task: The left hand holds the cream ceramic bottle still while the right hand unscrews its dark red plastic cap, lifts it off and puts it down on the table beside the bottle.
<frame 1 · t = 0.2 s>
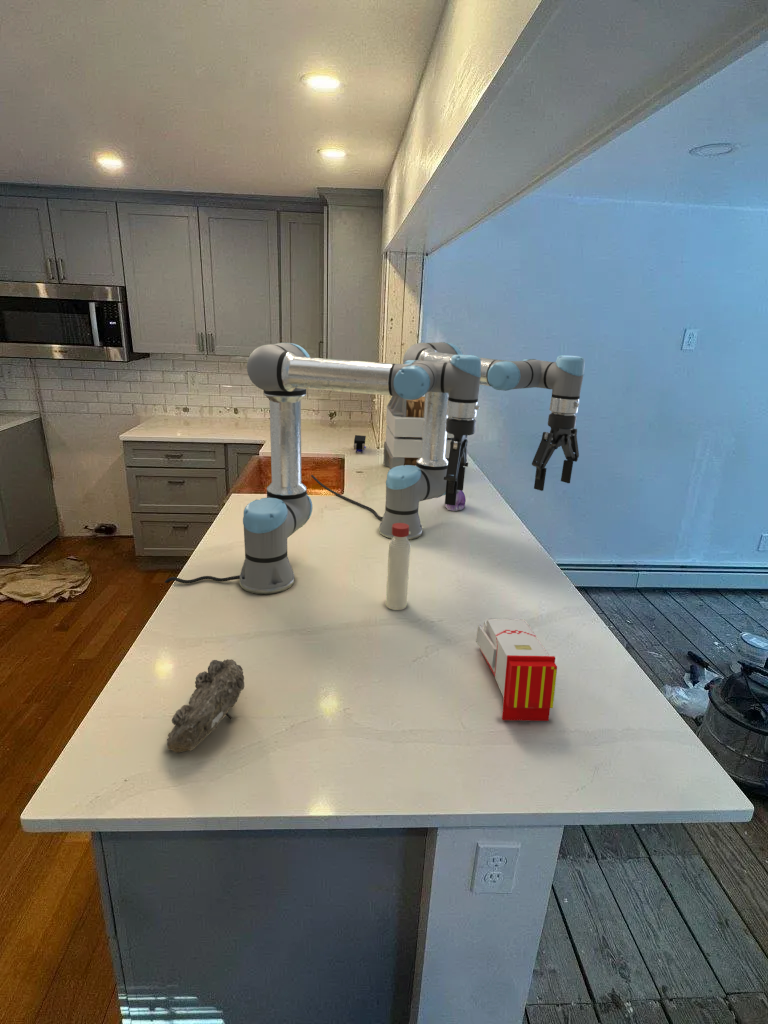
left hand: (454, 496, 152), 28 cm above the counter, tool pointing down, fingers open, 13 cm apart
right hand: (552, 485, 166), 28 cm above the counter, tool pointing down, fingers open, 13 cm apart
toy: (508, 678, 123), on the counter
fossil: (212, 717, 108), on the counter
figurine: (454, 508, 229), on the counter
bottle: (396, 604, 152), on the counter
figurine character: (359, 451, 312), on the counter
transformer: (419, 473, 275), on the counter
cap: (400, 526, 144), point 22 cm above the counter, screwed on, not yet turned
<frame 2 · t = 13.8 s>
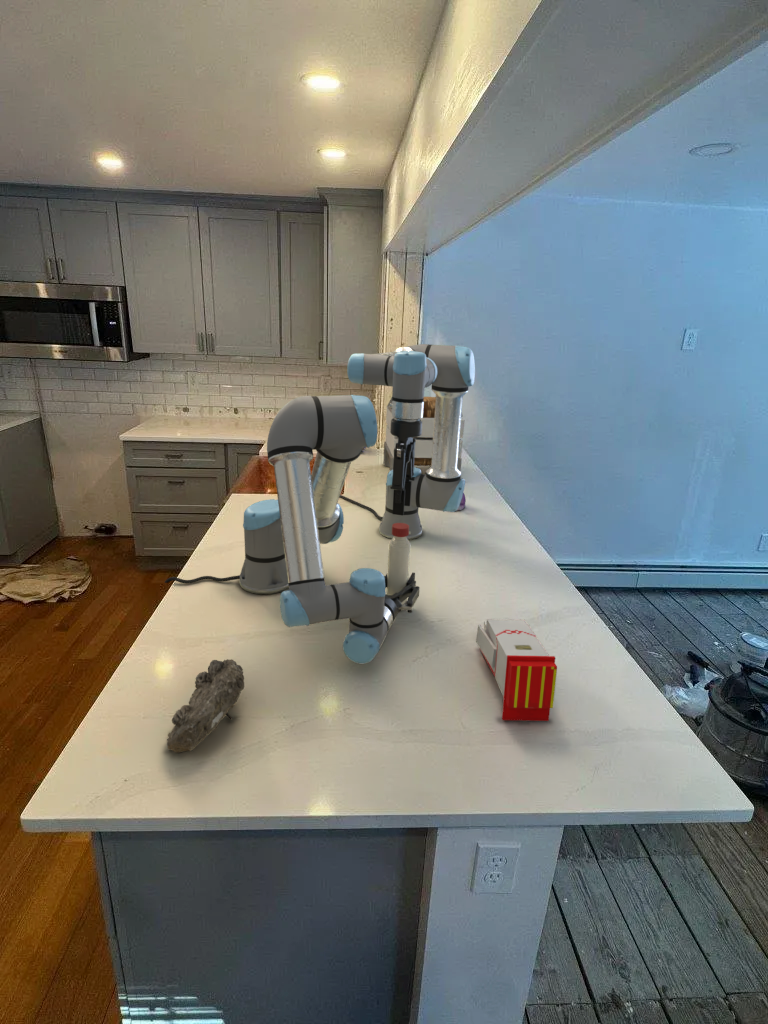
left hand: (402, 575, 155), 6 cm above the counter, tool horizontal, fingers closed on bottle, 6 cm apart
right hand: (401, 509, 143), 27 cm above the counter, tool pointing down, fingers open, 7 cm apart
bottle: (396, 604, 152), on the counter, touching left hand
everything else where it was.
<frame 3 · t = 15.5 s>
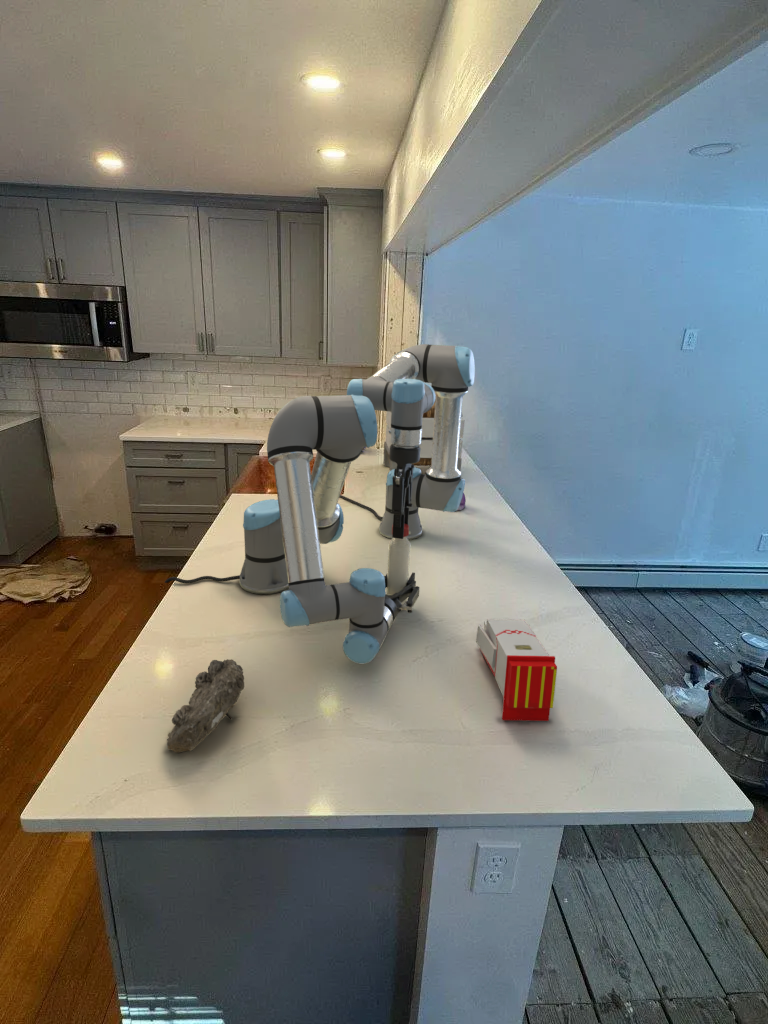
left hand: (402, 575, 155), 6 cm above the counter, tool horizontal, fingers closed on bottle, 6 cm apart
right hand: (400, 534, 145), 21 cm above the counter, tool pointing down, fingers closed on cap, 4 cm apart
bottle: (396, 604, 152), on the counter, touching left hand
cap: (400, 526, 144), point 22 cm above the counter, screwed on, not yet turned, touching right hand
everything else where it was.
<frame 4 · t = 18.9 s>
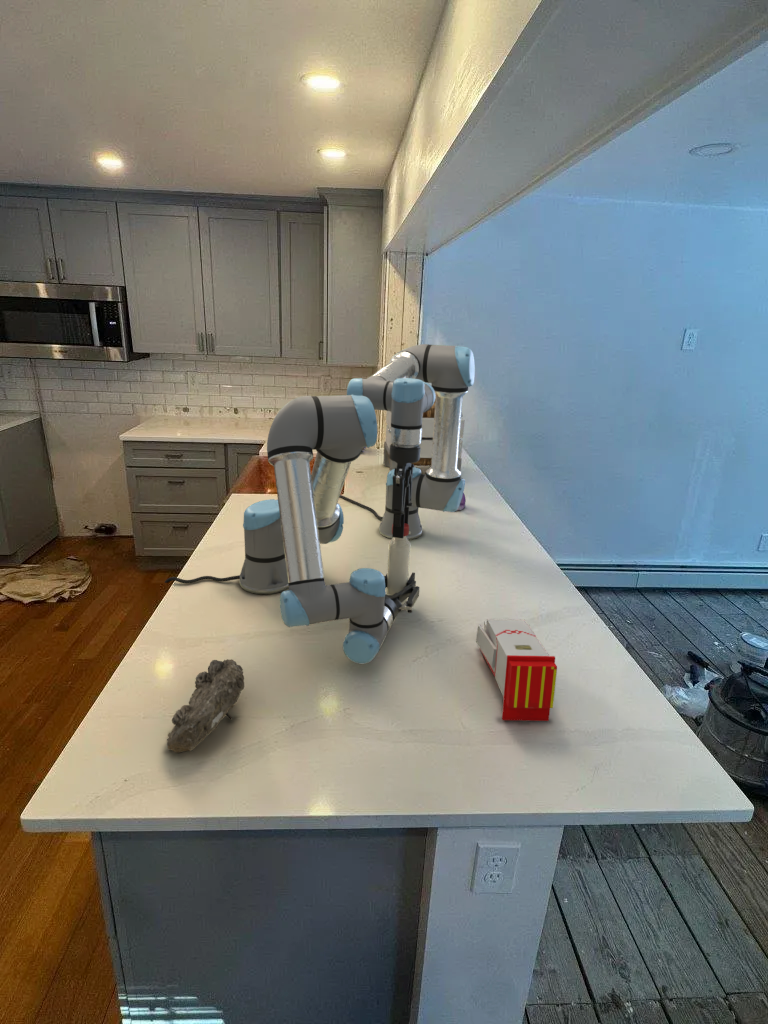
left hand: (402, 575, 155), 6 cm above the counter, tool horizontal, fingers closed on bottle, 6 cm apart
right hand: (400, 533, 145), 21 cm above the counter, tool pointing down, fingers closed on cap, 4 cm apart
bottle: (396, 604, 152), on the counter, touching left hand
cap: (400, 526, 144), point 23 cm above the counter, turned 131° so far, risen 0.1 cm, still on its thread, touching right hand
everything else where it was.
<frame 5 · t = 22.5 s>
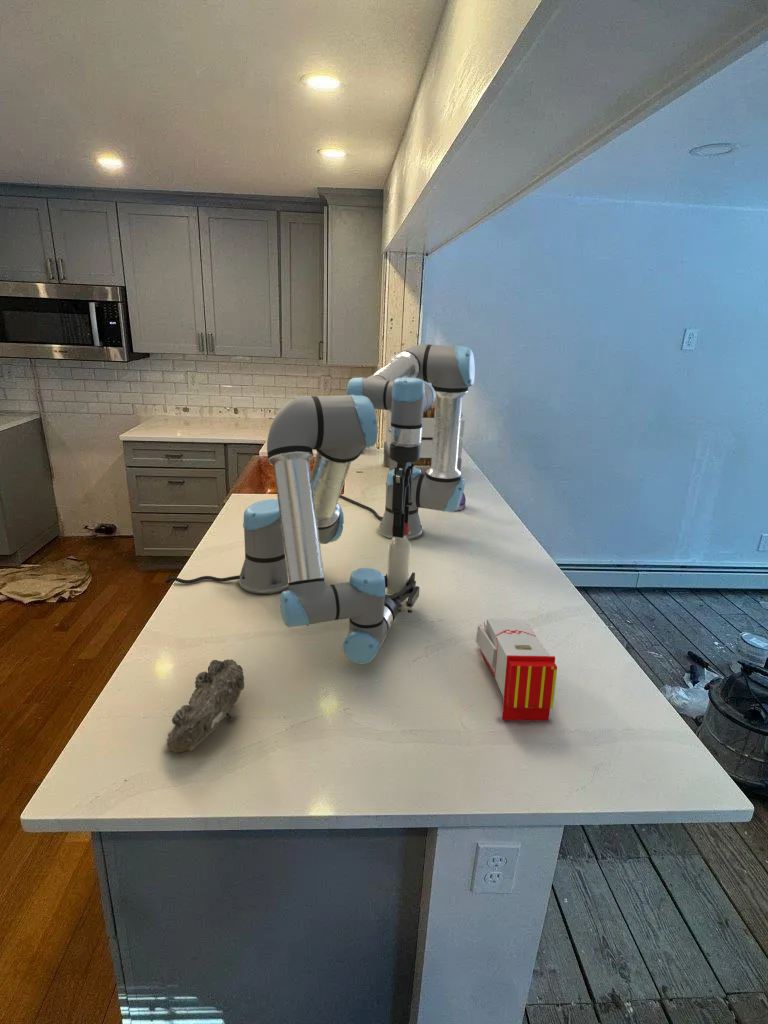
left hand: (402, 575, 155), 6 cm above the counter, tool horizontal, fingers closed on bottle, 6 cm apart
right hand: (400, 533, 145), 21 cm above the counter, tool pointing down, fingers closed on cap, 4 cm apart
bottle: (396, 604, 152), on the counter, touching left hand
cap: (400, 525, 144), point 23 cm above the counter, turned 263° so far, risen 0.3 cm, still on its thread, touching right hand
everything else where it was.
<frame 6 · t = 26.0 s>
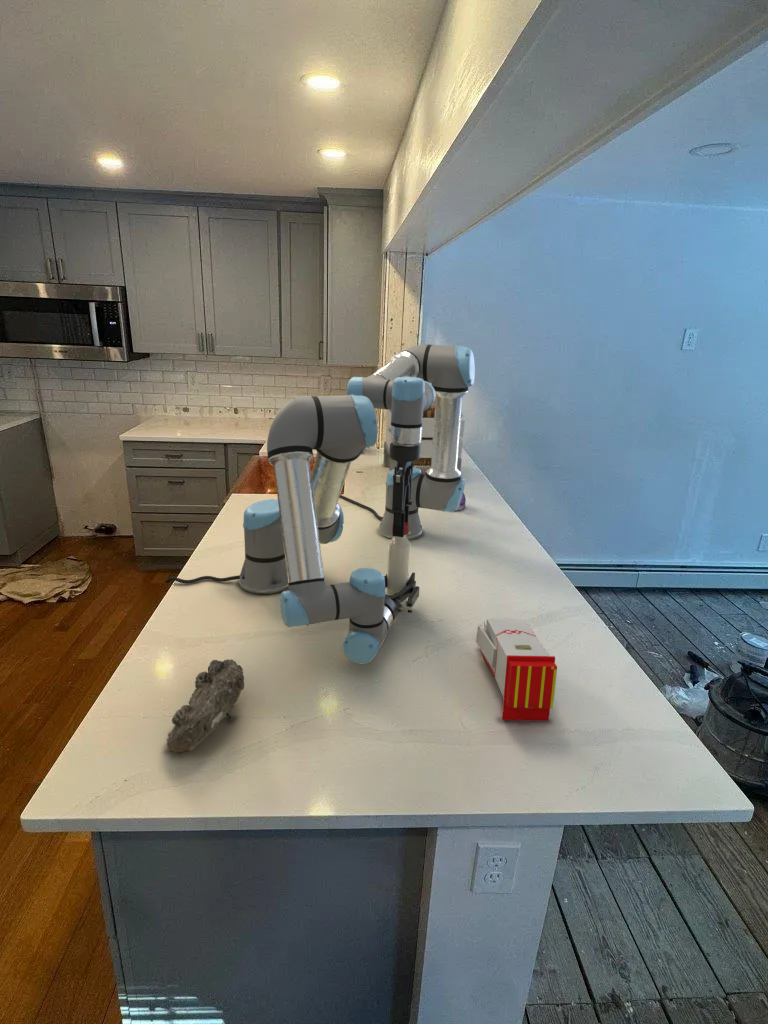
left hand: (402, 575, 155), 6 cm above the counter, tool horizontal, fingers closed on bottle, 6 cm apart
right hand: (400, 532, 145), 21 cm above the counter, tool pointing down, fingers closed on cap, 4 cm apart
bottle: (396, 604, 152), on the counter, touching left hand
cap: (400, 525, 144), point 23 cm above the counter, turned 394° so far, risen 0.5 cm, still on its thread, touching right hand
everything else where it was.
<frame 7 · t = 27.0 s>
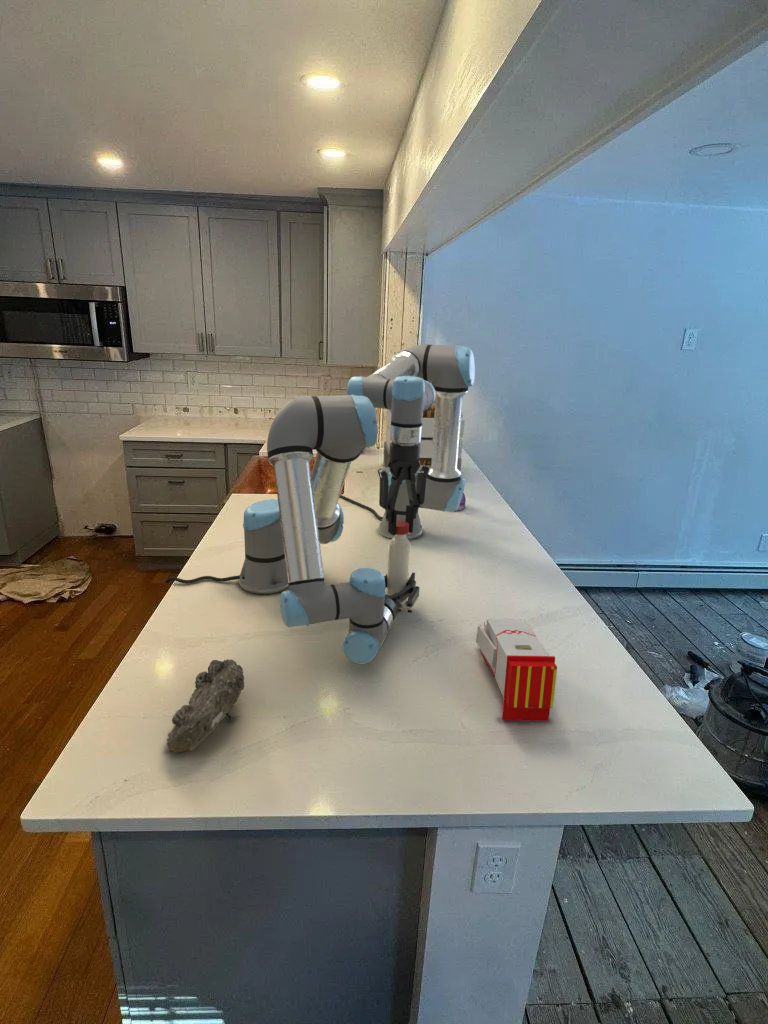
left hand: (402, 575, 155), 6 cm above the counter, tool horizontal, fingers closed on bottle, 6 cm apart
right hand: (400, 531, 145), 21 cm above the counter, tool pointing down, fingers closed on cap, 4 cm apart
bottle: (396, 604, 152), on the counter, touching left hand
cap: (400, 524, 144), point 23 cm above the counter, off its thread, touching right hand
everything else where it was.
when the right hand's fingers open (2 cm above the counter, at t = 33.7 s): cap drops 2 cm, point 2 cm above the counter.
when the left hand's fingers open (6 cm above the counter, at t = 34.9 s): bottle stays where it is, on the counter.
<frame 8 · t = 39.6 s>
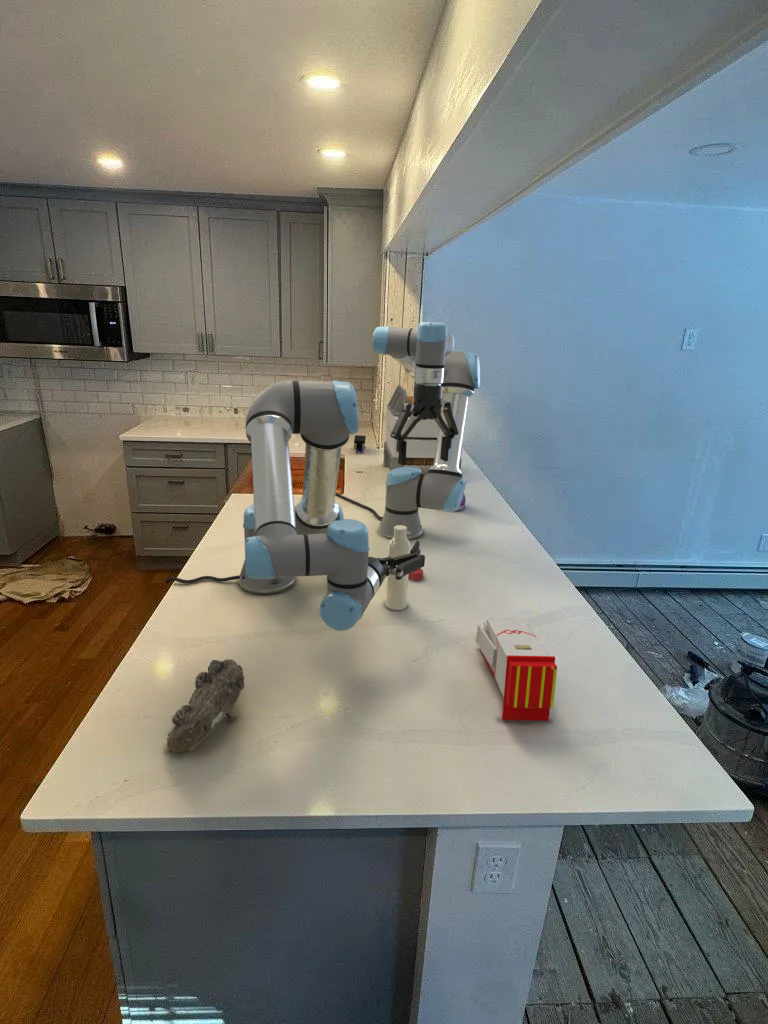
left hand: (390, 541, 135), 22 cm above the counter, tool horizontal, fingers open, 13 cm apart
right hand: (423, 462, 156), 35 cm above the counter, tool pointing down, fingers open, 13 cm apart
bottle: (396, 604, 152), on the counter
cap: (415, 571, 167), point 2 cm above the counter, off its thread
everything else where it was.
at the end: cap came off its thread; cap point 1.9 cm above the counter; the left hand is holding nothing; the right hand is holding nothing; bottle tilted 0°; bottle moved 0.0 cm from its start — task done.
